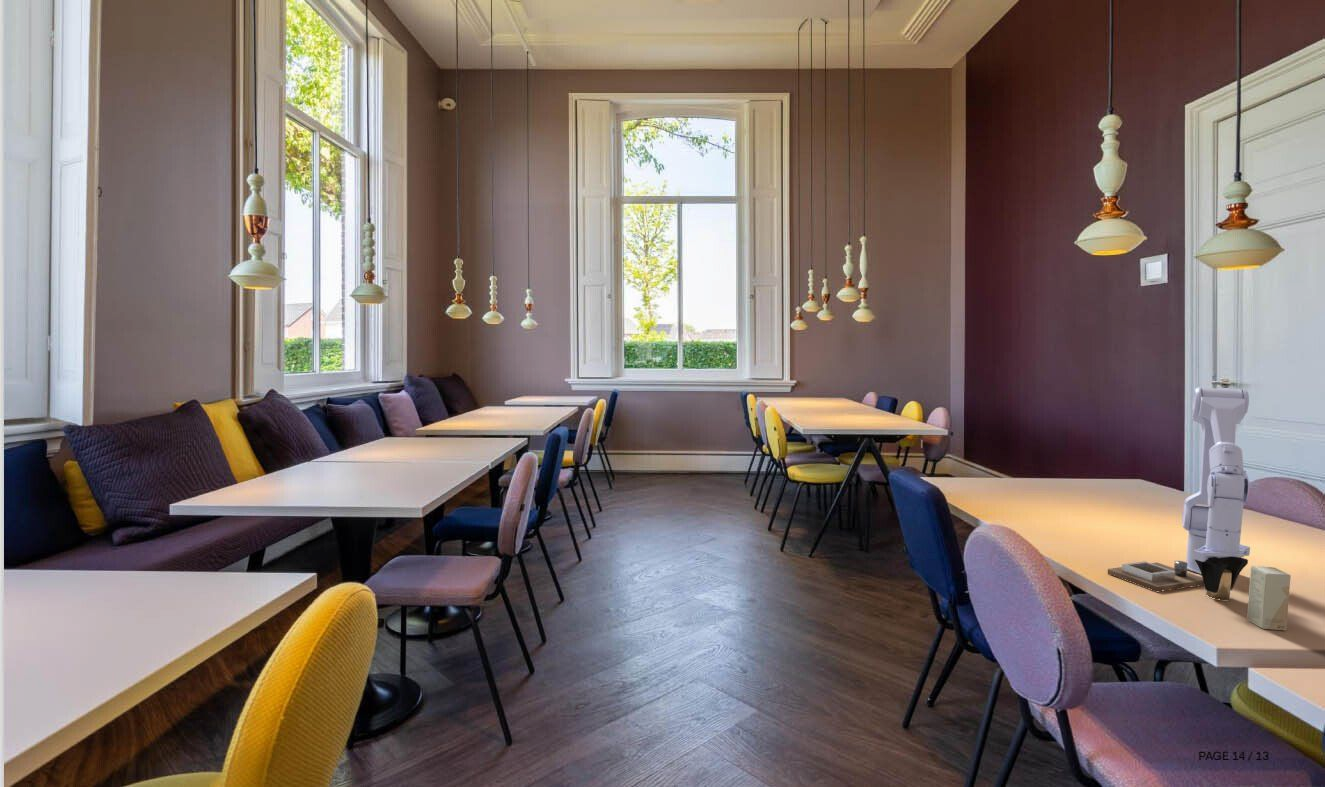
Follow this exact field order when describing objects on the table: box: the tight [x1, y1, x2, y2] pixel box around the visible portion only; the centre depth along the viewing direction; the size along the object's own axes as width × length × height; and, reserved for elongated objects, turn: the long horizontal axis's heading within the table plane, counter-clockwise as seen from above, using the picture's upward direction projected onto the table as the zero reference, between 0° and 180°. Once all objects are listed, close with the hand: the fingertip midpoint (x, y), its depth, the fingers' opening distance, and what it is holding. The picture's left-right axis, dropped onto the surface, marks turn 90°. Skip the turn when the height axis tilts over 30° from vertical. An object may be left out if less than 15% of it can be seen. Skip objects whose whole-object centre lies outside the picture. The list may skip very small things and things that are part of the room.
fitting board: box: [1107, 560, 1204, 592], centre depth 164 cm, size 16×12×4 cm
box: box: [1246, 565, 1292, 631], centre depth 138 cm, size 5×4×11 cm
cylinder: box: [1205, 569, 1232, 601], centre depth 153 cm, size 4×4×6 cm
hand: (1218, 589), depth 153 cm, fingers closed on cylinder, 4 cm apart
